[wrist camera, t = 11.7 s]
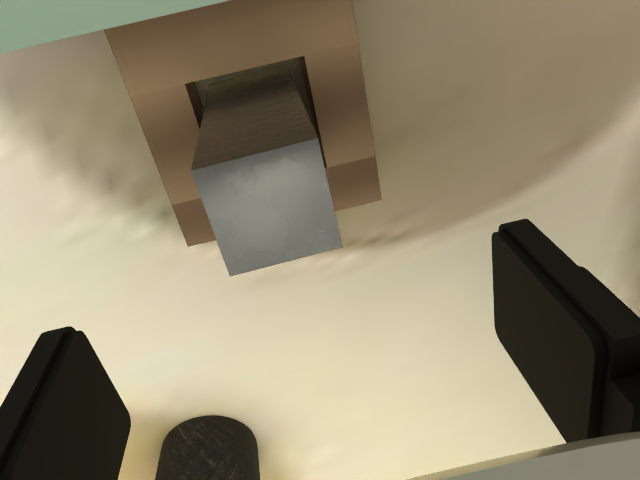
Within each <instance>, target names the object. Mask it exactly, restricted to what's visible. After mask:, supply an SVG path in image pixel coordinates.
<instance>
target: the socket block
mask: <svg viewBox="0 0 640 480" xmlns="http://www.w3.org/2000/svg"><path fill="white" fill-rule="evenodd" d="M104 31H105V34H106V36H107V39H108V41H109V44H110V47H111V49H112V52H113V54H114V57H115V59H116V62H117V65H118V67H119V70H120V72H121V75H122V78H123V80H124V83H125V85H126V88H127V90H128V93H129V96H130V98H131V101H132V103H133V106H134V109H135V111H136V114H137V116H138V119H139V121H140V124H141V127H142V129H143V132H144V134H145V137H146V140H147V142H148V145H149V147H150V150H151V152H152V155H153V158H154V160H155V163H156V165H157V168H158V171H159V173H160V176H161V178H162V181H163V183H164V186H165V189H166V191H167V194H168V196H169V199H170V202H171V204H172V207H173V209H174V212H175V215H176V217H177V220H178V222H179V225H180V227H181V230H182V233H183V235H184V238H185V240H186V243H187V246H188V247H189V246H193V245H197V244H201V243H205V242H209V241H213V240H216V237H215V235H214V232H213V229H212V227H211V224H210V221H209V218H208V216H207V213H206V210H205V208H204V205H203V202H202V200H201V197H200V194H199V192H198V189H197V186H196V183H195V181H194V178H193V175H192V173H191V168H192V163H193V158H194V154H195V149H196V145H197V140H198V136H199V131H200V127H201V122H202V118H203V109H202V106H201V103H200V100H199V97H198V94H197V91H196V87H195V84H194V82H195V81H199V80H204V79H208V78H212V77H216V76H221V75H225V74H229V73H233V72H238V71H242V70H246V69H250V68H255V67H259V66H263V65H267V64H272V63H276V62H280V61H284V60H289V59H293V58H297V57H300V60H301V65H302V70H303V74H304V79H305V84H306V89H307V93H308V98H309V103H310V108H311V113H312V117H313V122H314V127H315V132H316V135H317V137H318V140H319V145H320V149H321V154H322V158H323V162H324V167H325V171H326V176H327V180H328V185H329V189H330V193H331V198H332V202H333V207H334V211H337V210H341V209H345V208H349V207H354V206H358V205H362V204H366V203H370V202H374V201H378V200H382V199H381V192H380V185H379V179H378V172H377V165H376V159H375V152H374V146H373V139H372V132H371V126H370V119H369V112H368V106H367V99H366V93H365V86H364V79H363V73H362V66H361V59H360V53H359V46H358V40H357V33H356V26H355V20H354V13H353V6H352V0H229V1H225V2H221V3H216V4H212V5H208V6H203V7H199V8H195V9H190V10H186V11H182V12H177V13H173V14H169V15H165V16H160V17H156V18H152V19H147V20H143V21H139V22H134V23H130V24H126V25H121V26H117V27H113V28H108V29H104Z"/></svg>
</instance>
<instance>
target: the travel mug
mask: <svg viewBox="0 0 640 480" xmlns="http://www.w3.org/2000/svg"><path fill="white" fill-rule="evenodd" d="M155 480H260V472H259V459H258V449H257V443H256V439H255V437H254V435H253V433H252V432H251V431H250V429H249V428H248V427H246V426H245V425H244V424H242V423H240V422H238V421H236V420H233V419H230V418H226V417H219V416H205V417H199V418H195V419H191V420H188V421H186V422H184V423H182V424H180V425H178V426H177V427H175V428H174V429H173V430H172V431H171V432H170V433H169V434H168V435H167V437H166V438H165V440H164V442H163V445H162V449H161V453H160V458H159V463H158V467H157V473H156V478H155Z"/></svg>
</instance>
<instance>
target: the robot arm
mask: <svg viewBox="0 0 640 480" xmlns="http://www.w3.org/2000/svg"><path fill="white" fill-rule="evenodd" d="M492 262H493V292H494V321H495V330H496V333H497V336H498V338H499V340H500V342H501V343H502V345H503V346H504V348H505V350H506V351H507V353H508V354H509V356H510V357H511V359H512V360H513V362H514V363H515V365H516V366H517V368H518V369H519V371H520V372H521V374H522V375H523V377H524V379H525V380H526V382H527V383H528V385H529V386H530V388H531V389H532V391H533V392H534V394H535V395H536V397H537V398H538V400H539V401H540V403H541V404H542V406H543V408H544V409H545V411H546V412H547V414H548V415H549V417H550V418H551V420H552V421H553V423H554V424H555V426H556V427H557V429H558V430H559V432H560V433H561V435H562V436H563V438H564V440H565V441H566V444H561V445H556V446H552V447H547V448H542V449H538V450H533V451H529V452H524V453H519V454H515V455H510V456H506V457H501V458H497V459H492V460H488V461H484V462H479V463H475V464H471V465H467V466H462V467H458V468H454V469H450V470H445V471H441V472H437V473H432V474H428V475H424V476H420V477H415V478H411V479H407V480H640V318H639V317H638V316H637V315H636V314H635V313H634V312H633V311H632V310H631V309H629V308H628V307H627V306H626V305H625V304H624V303H623V302H622V301H621V300H620V299H619V298H617V297H616V296H615V295H614V294H613V293H612V292H611V291H610V290H609V289H608V288H607V287H606V286H604V285H603V284H602V283H601V282H600V281H599V280H598V279H597V278H596V277H595V276H594V275H593V274H591V273H590V272H589V271H588V270H587V269H585V268H584V267H580V266H578V265H576V264H575V263H574V262H573V261H572V260H571V259H570V258H569V257H568V256H567V255H566V254H565V253H564V252H563V251H562V250H560V249H559V248H558V247H557V246H556V245H555V244H554V243H553V242H552V241H551V240H550V239H549V238H548V237H547V236H545V235H544V234H543V233H542V232H541V231H540V230H539V229H538V228H537V227H536V226H535V225H534V224H533V223H532V222H530V221H529V220H528V219H522V220H518V221H513V222H509V223H505V224H501V225H500V226H499V230H498V232H495V233H493V234H492ZM130 427H131V420H130V415H129V412H128V410H127V409H126V407H125V405H124V403H123V401H122V400H121V398H120V396H119V394H118V392H117V391H116V389H115V387H114V385H113V383H112V382H111V380H110V378H109V376H108V375H107V373H106V371H105V369H104V367H103V366H102V364H101V362H100V360H99V358H98V357H97V355H96V353H95V351H94V349H93V348H92V346H91V344H90V342H89V340H88V339H87V337H86V335H85V334H84V333H83V332H82V331H76V330H75V329H74V328H73V327H69V326H68V327H64V328H60V329H56V330H51V331H47V332H44V333H42V334H41V335H40V337H39V338H38V340H37V342H36V344H35V346H34V347H33V349H32V351H31V353H30V355H29V356H28V358H27V360H26V362H25V364H24V365H23V367H22V369H21V371H20V373H19V374H18V376H17V378H16V380H15V382H14V384H13V385H12V387H11V389H10V391H9V393H8V394H7V396H6V398H5V400H4V402H3V403H2V405H1V407H0V480H118V476H119V472H120V468H121V464H122V460H123V456H124V452H125V448H126V444H127V440H128V436H129V432H130Z"/></svg>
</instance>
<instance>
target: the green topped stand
mask: <svg viewBox="0 0 640 480" xmlns="http://www.w3.org/2000/svg"><path fill="white" fill-rule="evenodd" d="M225 1H229V0H0V54H1V53H5V52H9V51H14V50H18V49H22V48H27V47H31V46H35V45H39V44H44V43H48V42H52V41H57V40H61V39H65V38H70V37H74V36H78V35H83V34H87V33H91V32H96V31H100V30H104V29H108V28H113V27H117V26H121V25H126V24H130V23H134V22H139V21H143V20H147V19H152V18H156V17H160V16H165V15H169V14H173V13H177V12H182V11H186V10H190V9H195V8H199V7H203V6H208V5H212V4H216V3H221V2H225Z"/></svg>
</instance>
